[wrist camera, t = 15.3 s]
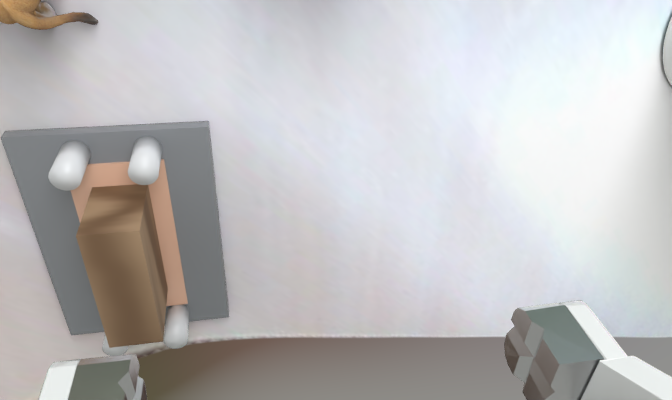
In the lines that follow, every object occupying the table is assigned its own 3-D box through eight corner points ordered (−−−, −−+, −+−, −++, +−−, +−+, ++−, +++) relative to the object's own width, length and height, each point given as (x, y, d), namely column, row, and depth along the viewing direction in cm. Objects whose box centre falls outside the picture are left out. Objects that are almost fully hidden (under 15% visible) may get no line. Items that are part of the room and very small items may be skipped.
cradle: (208, 121, 40) (208, 149, 36) (228, 309, 51) (230, 345, 47) (5, 131, 37) (-17, 162, 34) (73, 327, 48) (62, 366, 45)
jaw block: (147, 183, 40) (139, 231, 35) (167, 288, 46) (163, 341, 42) (92, 187, 40) (75, 236, 35) (119, 293, 46) (109, 347, 41)
